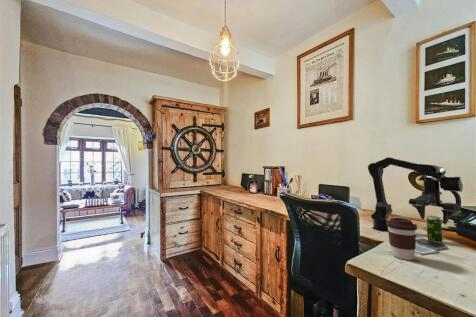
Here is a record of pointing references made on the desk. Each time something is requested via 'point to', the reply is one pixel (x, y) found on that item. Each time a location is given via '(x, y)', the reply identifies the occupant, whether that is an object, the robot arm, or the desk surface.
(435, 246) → the ink pad
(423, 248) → the mat
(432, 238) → the green soda can
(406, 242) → the coffee cup
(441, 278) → the desk surface
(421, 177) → the robot arm
